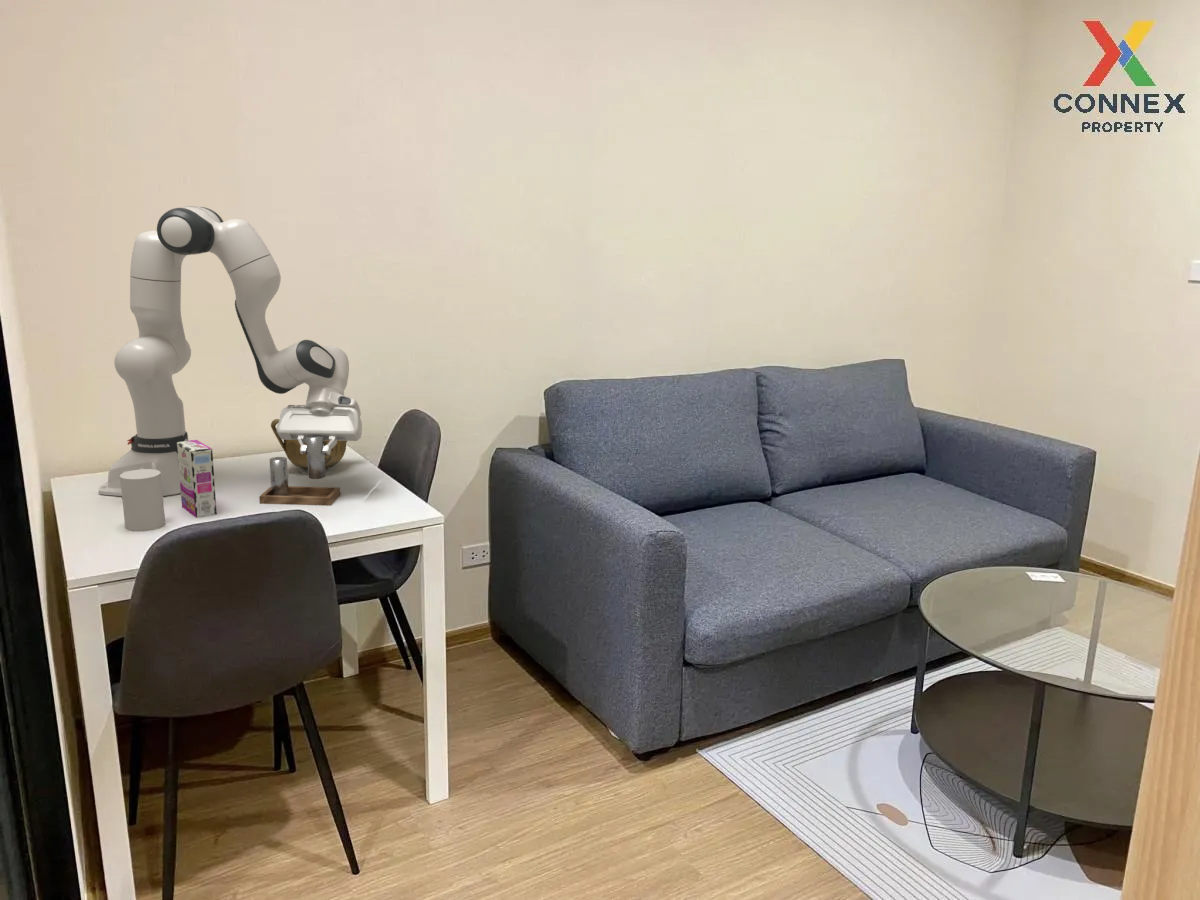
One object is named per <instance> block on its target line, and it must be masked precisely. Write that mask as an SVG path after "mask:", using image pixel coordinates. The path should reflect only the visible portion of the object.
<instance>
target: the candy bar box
mask: <svg viewBox="0 0 1200 900" xmlns="http://www.w3.org/2000/svg"><path fill="white" fill-rule="evenodd" d="M177 450H178V463H179V475H180V488H181V493H180V497H181V508H182V509H184V510H186V511H187V512H188V513H189V514H191V515H192V516H193V517H195V519H199V518H204V517H209V516H216V515H217V514H218V512H217V500H216V487H215V470H214V469H215V468H214V456H213V454H214V453H213V448H211V447H209V446H208V445H206V444H205V443H203V442H202V441H200V440H198V439H193V440H188V441H183V442H177Z"/></svg>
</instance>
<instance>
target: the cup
mask: <svg viewBox="0 0 1200 900" xmlns="http://www.w3.org/2000/svg"><path fill="white" fill-rule="evenodd" d="M120 483H121V492H122V496H121V499H122V508H123V509H122V510H123V518H124V528H125V530H127V531H130V532H147V531H153V530H154V531H155V530H157V529H160V528H163V527H164V526H165V525H166V517H165V506H164V505H165V504H164V496H163V493H162V483H161V472H160V471H158V470H154V469H139V470H132V471H128V472H124V473H122V474H121V475H120Z"/></svg>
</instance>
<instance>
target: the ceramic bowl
mask: <svg viewBox="0 0 1200 900" xmlns="http://www.w3.org/2000/svg"><path fill="white" fill-rule="evenodd" d="M279 420H280V418H275V419H273V420H272V421H271V423H270V427H271V431H273V434H274V435H275V438H276V439H277V441H278V442H279V444H280V447H281V448H282V450H283V451H284V453H285V455H286V458H287V460H289V462H290V463H292V465H294V466H296V468H299V469H301V470H304V471H307V472H308V462H307V454H301V453H300V448H301V445H300V443H299V441H298V440H283V439H281V438H280V437H279V435H278V433H277V431H276V429H277V425H278V422H279ZM329 442H330V440H323V443H324V446H327V444H328V443H329ZM347 442H348V441H337V444H336V445H335V446H334V447H333V448H332V449H331V451H330V455H324V459H325V471H326V470H328V469H331V468H332V467H334V466H335V465H337V464H339V462H340V461H341V460H342V459H343V457H344V456H345V453H346V450H347ZM303 444H304V445H306V443H303Z"/></svg>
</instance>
